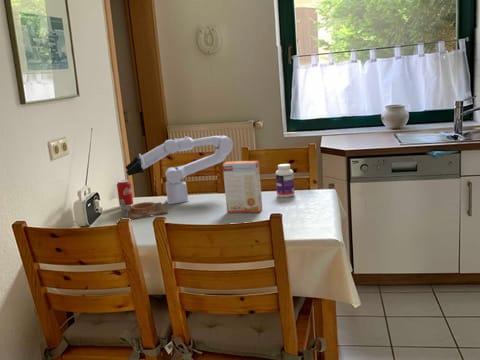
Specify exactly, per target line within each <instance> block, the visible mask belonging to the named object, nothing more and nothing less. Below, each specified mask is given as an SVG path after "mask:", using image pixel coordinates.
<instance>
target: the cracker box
mask: <svg viewBox="0 0 480 360" xmlns="http://www.w3.org/2000/svg"><path fill="white" fill-rule="evenodd" d="M222 169H223V170H222V171H223V182H224V183H223V184H224V193H225V203H226V204H225V205H226V212H227V213H249V214H250V213H253V214H255V213H256V214H257V213H260V212H261V211H262V210H263V201H262V200H263V199H262V197H263V196H262V185H261V178H260V177H261V174H260V173H261V172H260V162H259V160H235V161H226V162H224V163H222Z"/></svg>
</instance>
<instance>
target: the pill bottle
mask: <svg viewBox="0 0 480 360" xmlns="http://www.w3.org/2000/svg"><path fill="white" fill-rule="evenodd" d="M294 179H295V177H294V171H293V169H291V164H290V163H280V164H278V165H277V170H276V171H275V185H276V187H275V188H276V196H277V197H279V198H282V197H286V198H291V197H290V196H292V197H294V196H295V180H294Z"/></svg>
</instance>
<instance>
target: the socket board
mask: <svg viewBox="0 0 480 360" xmlns="http://www.w3.org/2000/svg"><path fill="white" fill-rule="evenodd" d="M120 204H121V206H120V209H121V210H120V211H121V213H122V216H123V219H124V218H130V219H132V220H135V219H134V218H138V219H141V218H140V217H144V218H147V217H146V216H150V217H152V216H151V215H157V216H161V215H168V214H169V213H168V211H167V209H166V207H165V206H164V205H163V203H162V202H154V201H153V202H152V201H144V202H137V203H135V204H134V203H133V204H132V206H130V207H126V205H125V202H124V200H123V199H122V200H120Z"/></svg>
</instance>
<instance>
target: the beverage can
mask: <svg viewBox="0 0 480 360" xmlns="http://www.w3.org/2000/svg"><path fill="white" fill-rule="evenodd" d="M116 188H117V196H118V204H119V206H120V207H121V204H120V200H122V199H123V200H124V202H125V205H126V207H129V206H131V205H134V199H133V198H134V197H133V191H132V183H131V182H130V181H129V179H121V180H120V179H119V180H118V181H117V183H116Z"/></svg>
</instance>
